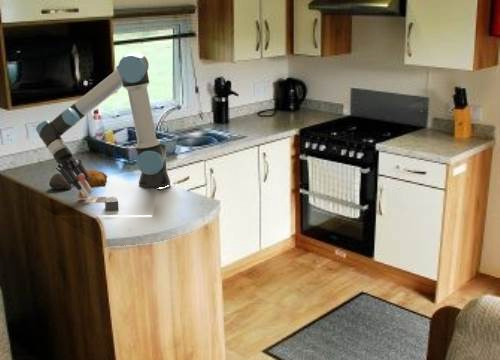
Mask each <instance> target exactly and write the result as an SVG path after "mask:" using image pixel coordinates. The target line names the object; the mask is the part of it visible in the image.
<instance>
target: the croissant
mask: <svg viewBox="0 0 500 360" xmlns="http://www.w3.org/2000/svg"><path fill="white" fill-rule="evenodd" d="M85 170H86V172H87V174H88V176H89V177H88V178H87V181H88V182H89V184H90V187H91V188H100V187H103V186H104V185H106V184H107V181H108V180H107V178H108V176H107V174H106V173H104V172H102V171H99V170H95V169H85ZM75 176H76V178H77V180H78V176H77V175H75Z"/></svg>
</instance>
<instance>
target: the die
mask: <svg viewBox="0 0 500 360" xmlns="http://www.w3.org/2000/svg"><path fill="white" fill-rule="evenodd" d="M104 208H105V211H106V212H115V211H119V200H118V198H117V197H116V198H109V199H105V203H104Z"/></svg>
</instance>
